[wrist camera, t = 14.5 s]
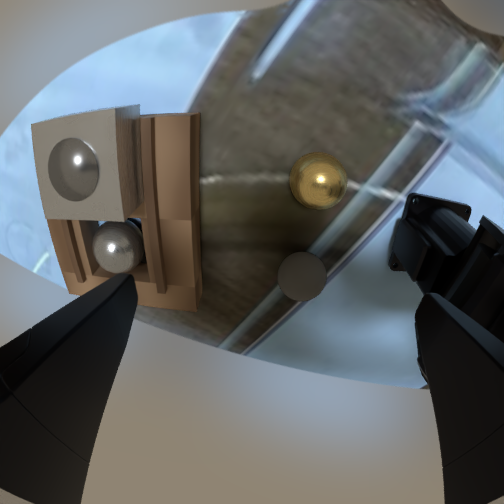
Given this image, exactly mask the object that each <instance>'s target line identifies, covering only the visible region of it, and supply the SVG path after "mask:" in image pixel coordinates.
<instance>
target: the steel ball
mask: <svg viewBox="0 0 504 504" xmlns="http://www.w3.org/2000/svg"><path fill="white" fill-rule="evenodd" d="M92 249H93V254H94V257H95V259H96V261H97V262H98V264H99V265H100V266H101V267H102V268H103V269H105V270H106V271H108V272H111V273H116V274H118V273H126V272H128V271H131V270H132V269H134V268H135V267H136V266H137V265H138V264H139V263H140V261H141V259H142V257H143V254H144V250H145V246H144V239H143V234H142V232H141V230H140V229H139V228H138V227H137V226H136V225H135V224H134V223H133V222H131V221H129V220H127V219H126V221H125V222H118V221H106V222H105V223H103V224H102V225H101V226H100V227H99V228H98V230H97V231H96V233H95V235H94V238H93V243H92Z"/></svg>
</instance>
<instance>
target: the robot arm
mask: <svg viewBox="0 0 504 504" xmlns="http://www.w3.org/2000/svg"><path fill="white" fill-rule="evenodd" d="M415 198H416V201H415V202H413V200H414V199H415ZM466 209H467V210H466ZM465 211H466V212H465ZM470 214H471V207H470V206H469V205H467V204H464V203H460V202H455V201H451V200H447V199H442V198H438V197H433V196H428V195H423V194H418V193H412V194H410V195H409V197H408V200H407V204H406V208H405V211H404V215H403V218H402V220H401V221H400V224H399V228H398V231H397V234H396V238H395V241H394V244H393V247H392V250H393V251H392V254H391V257H390V260H389V264H388V265H389V267H390V269H391V270H393V271H406V272H407V273H408V275H409V276H410V278H411V280H412V281H413V282H416V283H417V284H418V286H419V288H420V289H421V291H422V293H423V294H424V296H423V298H422V300H421V302H420V304H419V306H418V308H417V310H416V313H415V331H416V339H417V348H418V358H417V361H418V365H419V367H420V371H421V374H422V376H423V377H424V379H425V381H426V382H427V383H428V385H429V388H430V393H431V397H432V402H433V407H434V412H435V417H436V423H437V429H438V435H439V442H440V450H441V458H442V467H443V481H444V499H445V504H504V229H502V228H501V227H499V226H498V225H497V224H495V223H494V222H492V221H491V220H489V219H488V218H487V217H485V216H484V215H483V216H482V218H481V220H480V222H479V223H480V225H479V227H478V229H477V230H476V229H475V228H473V227H472V226H471V225H470V224H469V223H468V220H469V217H470ZM394 263H396V264H395V265H393V264H394ZM137 304H138V293H137V289H136V284H135V279H134V276H133V275H132V274H130V273H118V274H116V275H115V276H113V277H111V278H110V279H108V280H106V281H105V282H103V283H101V284H100V285H98V286H96V287H95V288H93V289H91V290H90V291H88V292H86V293H85V294H83V295H81V296H80V297H78V298H77V299H75V300H73V301H72V302H70V303H69V304H67V305H65V306H64V307H62V308H61V309H59V310H58V311H56V312H54V313H53V314H51V315H50V316H48V317H47V318H45V319H43V320H42V321H40V322H39V323H37V324H36V325H34V326H33V327H32V329H31V328H30V329H28V330H27V331H25V332H24V333H22V334H21V335H19V336H18V337H16V338H15V339H13V340H11V341H10V342H8V343H7V344H5V345H3V346H2V347H0V504H81V499H82V494H83V489H84V485H85V481H86V476H87V472H88V467H89V462H90V459H91V455H92V451H93V447H94V443H95V440H96V437H97V433H98V429H99V426H100V423H101V419H102V416H103V412H104V409H105V406H106V403H107V400H108V397H109V394H110V391H111V388H112V385H113V382H114V379H115V376H116V373H117V370H118V367H119V365H120V362H121V359H122V356H123V354H124V351H125V348H126V345H127V341H128V338H129V333H130V330H131V326H132V322H133V318H134V315H135V311H136V307H137Z"/></svg>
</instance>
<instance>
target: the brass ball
mask: <svg viewBox="0 0 504 504" xmlns="http://www.w3.org/2000/svg"><path fill="white" fill-rule="evenodd" d="M289 182H290V188H291V191H292V193H293V195H294V197H295V198H296V199H297V200H298V201H299V202H300V203H301V204H302V205H304V206H306V207H308V208H311V209H315V210H324V209H328V208H331V207H333V206H334V205H336V204H337V203H338V202H339V201H340V200H341V199H342V198H343V196H344V194H345V192H346V189H347V175H346V171H345V169H344V167H343V166H342V164H341V163H340V162H339V161H338V160H337V159H336V158H335V157H333V156H332V155H329V154H327V153H323V152H312V153H308V154H306V155H304V156H302V157H301V158H299V159H298V160H297V161H296V163H295V164H294V165H293V167H292V169H291V172H290V178H289Z"/></svg>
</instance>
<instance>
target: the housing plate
mask: <svg viewBox="0 0 504 504" xmlns="http://www.w3.org/2000/svg"><path fill="white" fill-rule="evenodd" d="M199 136H200V113H167V114H149V115H140V142H141V163H142V179H143V191H144V202H143V203H142V204H141V205H140V206H139V207H138V208H137V209H136V210H135V211H134V212H133V213H132V214H131V215H130V216H129V217H128V218H141V224H142V232H143V239H144V246H145V253H146V259H147V263H143V262H140V263H139V264H138V265H137V266H136V267H135V268H134V269H132V270H131V271H128V272H126V273H130V274H132V275H133V276H134V279H135V284H136V289H137V293H138V304H137V305H143V306H151V307H158V308H166V309H175V310H184V311H193V312H197V310H198V306H199V302H200V299H201V295H202V292H203V291H202V271H201V247H200V208H199ZM47 223H48V227H49V230H50V234H51V238H52V242H53V245H54V249H55V252H56V255H57V259H58V262H59V265H60V268H61V271H62V274H63V277H64V280H65V283H66V286H67V289H68V291H69V294H75V295H80V296H81V295H83V294H85V293H86V292H88V291H90V290H91V289H93V288H95V287H96V286H98V285H100V284H101V283H103V282H105V281H106V280H108V279H110V278H111V277H113V276H115V275H116V273H111V272H108V271H106V270H105V269H103V268H102V267H101V266H100V265H99V264H98V262H97V261H96V259H95V257H94V254H93V249H92V243H93V238H94V235H95V233H96V231H97V230H98V228H99V226H98V221H94V220H66V219H47Z"/></svg>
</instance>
